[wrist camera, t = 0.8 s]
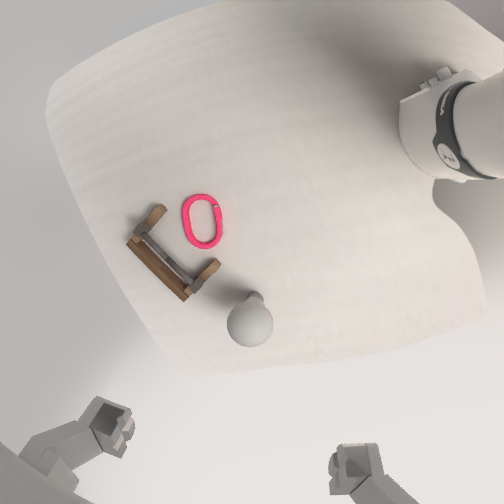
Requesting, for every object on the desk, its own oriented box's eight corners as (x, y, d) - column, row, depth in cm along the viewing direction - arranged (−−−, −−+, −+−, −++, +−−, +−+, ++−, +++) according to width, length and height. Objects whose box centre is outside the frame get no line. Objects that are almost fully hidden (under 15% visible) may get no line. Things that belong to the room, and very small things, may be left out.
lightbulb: (230, 303, 45) (215, 342, 35) (247, 272, 43) (236, 307, 33) (263, 320, 46) (257, 362, 35) (282, 291, 44) (281, 330, 33)
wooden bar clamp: (162, 204, 41) (150, 208, 38) (221, 263, 43) (215, 273, 39) (133, 240, 44) (121, 247, 40) (188, 295, 46) (180, 306, 42)
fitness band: (227, 244, 43) (225, 247, 41) (190, 248, 43) (187, 251, 42) (218, 191, 40) (216, 192, 39) (181, 197, 41) (177, 198, 40)
